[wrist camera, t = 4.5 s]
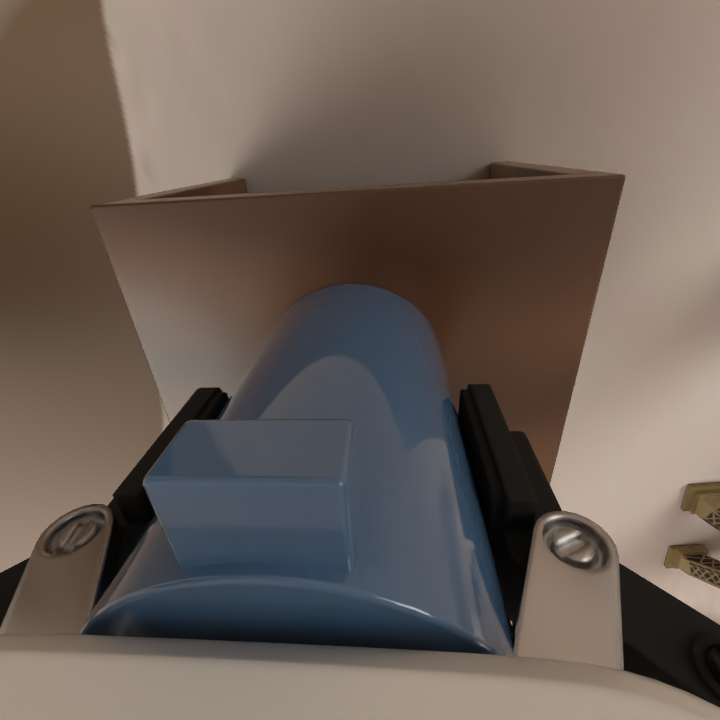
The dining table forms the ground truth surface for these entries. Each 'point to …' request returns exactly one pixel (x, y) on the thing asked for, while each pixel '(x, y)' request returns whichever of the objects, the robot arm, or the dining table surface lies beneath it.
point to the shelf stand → (375, 276)
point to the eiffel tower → (716, 508)
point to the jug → (320, 499)
